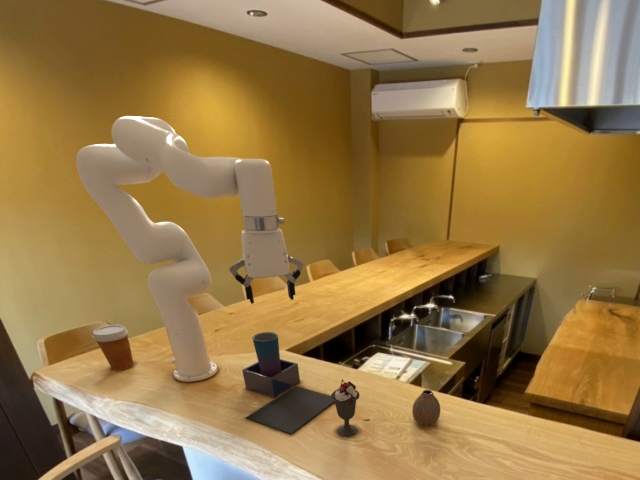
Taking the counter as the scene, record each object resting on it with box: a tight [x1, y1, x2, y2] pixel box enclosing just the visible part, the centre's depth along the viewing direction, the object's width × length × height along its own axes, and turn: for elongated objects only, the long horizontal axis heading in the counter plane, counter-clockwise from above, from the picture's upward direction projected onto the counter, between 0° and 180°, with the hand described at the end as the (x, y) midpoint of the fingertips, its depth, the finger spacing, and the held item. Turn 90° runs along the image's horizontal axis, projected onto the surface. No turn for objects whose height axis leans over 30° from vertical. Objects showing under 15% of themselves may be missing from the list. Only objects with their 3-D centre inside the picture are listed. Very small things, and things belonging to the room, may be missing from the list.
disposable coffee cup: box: [92, 324, 135, 371], centre depth 131 cm, size 10×10×12 cm
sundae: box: [330, 379, 360, 438], centre depth 98 cm, size 7×7×15 cm
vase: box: [411, 389, 441, 428], centre depth 103 cm, size 7×7×9 cm
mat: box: [245, 385, 335, 435], centre depth 112 cm, size 15×20×1 cm
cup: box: [252, 331, 281, 377], centre depth 119 cm, size 7×7×15 cm
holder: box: [241, 358, 301, 399], centre depth 121 cm, size 11×11×6 cm
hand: (271, 300), depth 104 cm, fingers open, 9 cm apart
